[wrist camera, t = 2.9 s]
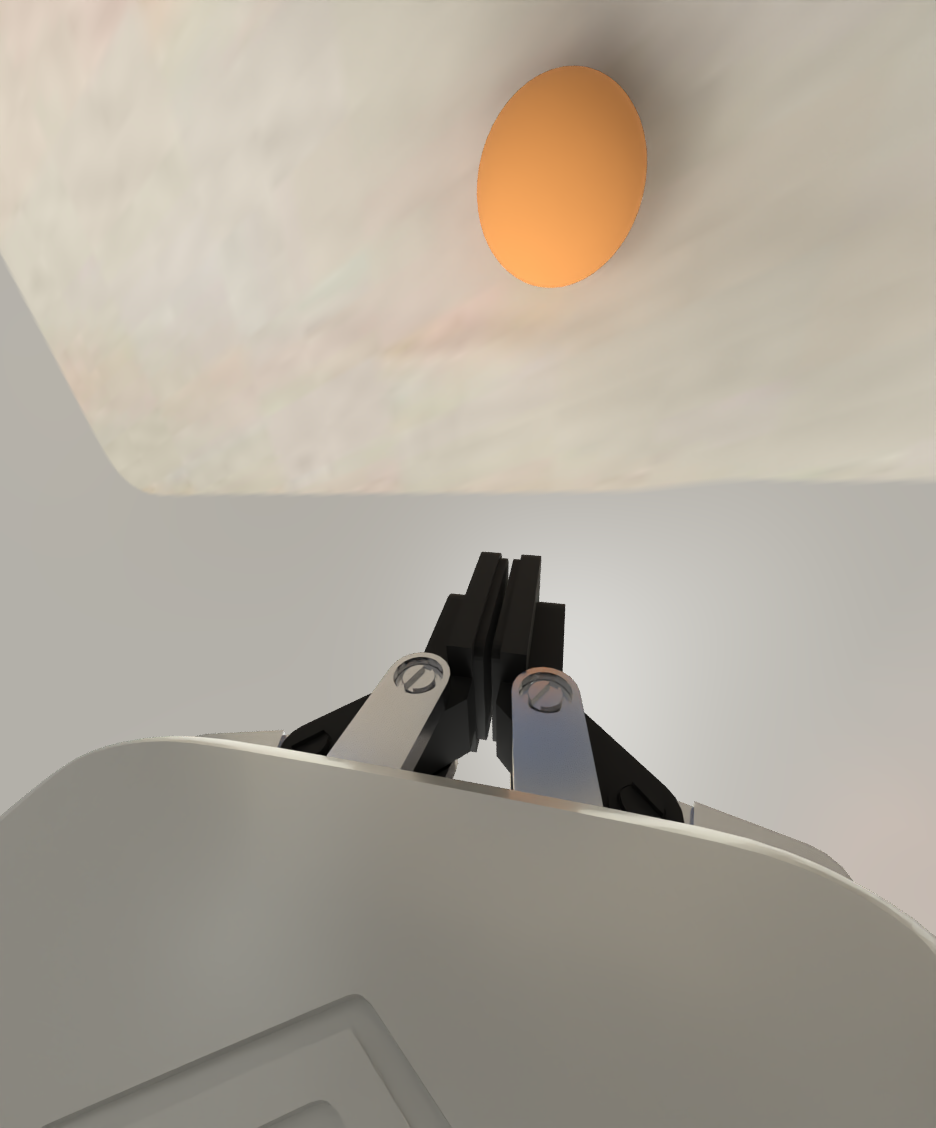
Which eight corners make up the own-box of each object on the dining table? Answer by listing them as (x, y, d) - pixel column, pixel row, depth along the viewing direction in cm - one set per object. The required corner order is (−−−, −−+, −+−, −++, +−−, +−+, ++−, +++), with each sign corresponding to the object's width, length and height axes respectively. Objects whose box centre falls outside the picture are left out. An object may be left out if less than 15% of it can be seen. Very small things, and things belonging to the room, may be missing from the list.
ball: (491, 113, 14) (454, 45, 10) (650, 91, 13) (678, 6, 9) (493, 290, 17) (464, 292, 13) (625, 283, 16) (639, 282, 12)
